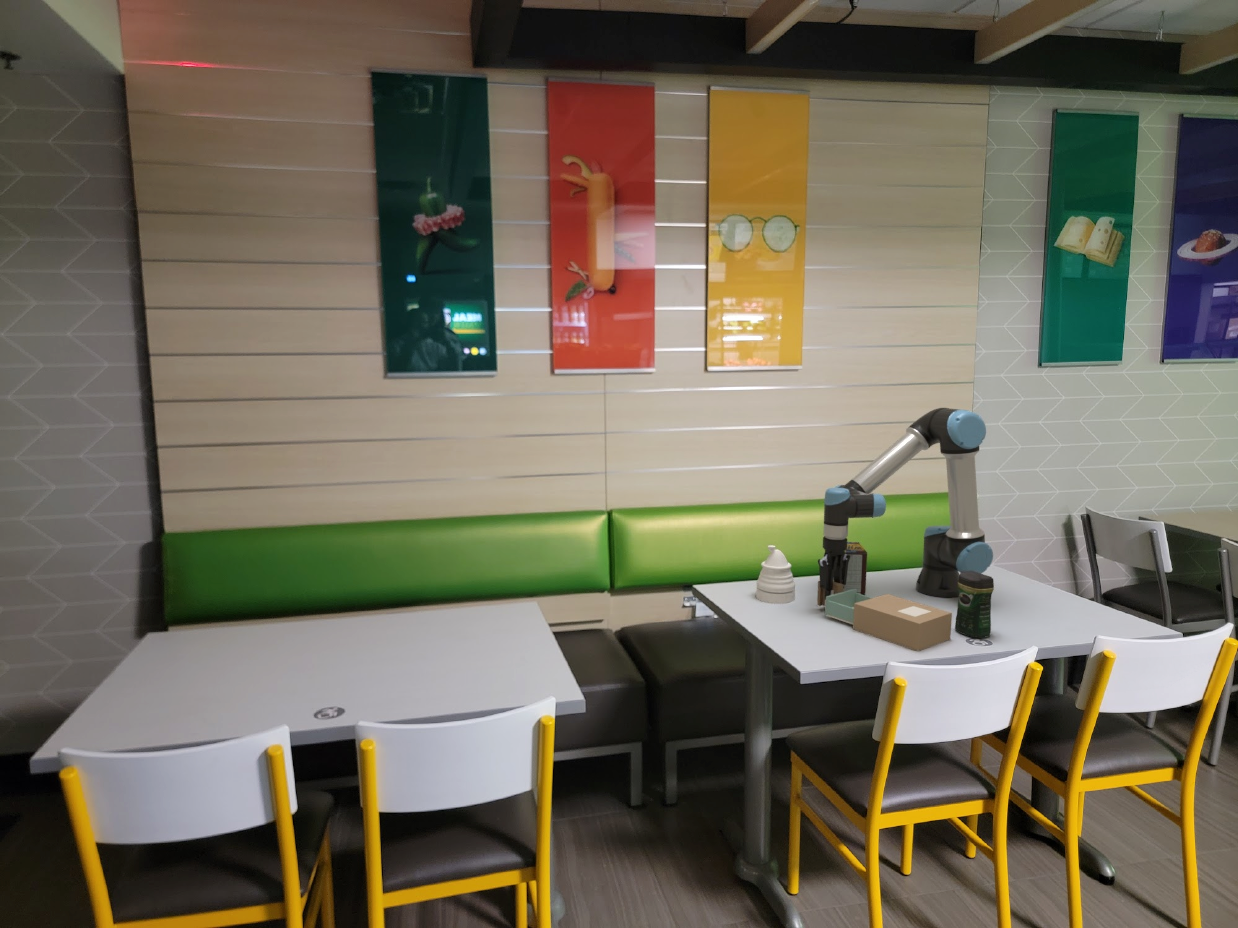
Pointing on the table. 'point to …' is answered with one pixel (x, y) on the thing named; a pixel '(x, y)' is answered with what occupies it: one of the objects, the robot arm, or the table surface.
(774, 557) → the honey pot
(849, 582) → the protein box
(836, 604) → the tray
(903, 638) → the cardboard box
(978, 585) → the coffee jar
